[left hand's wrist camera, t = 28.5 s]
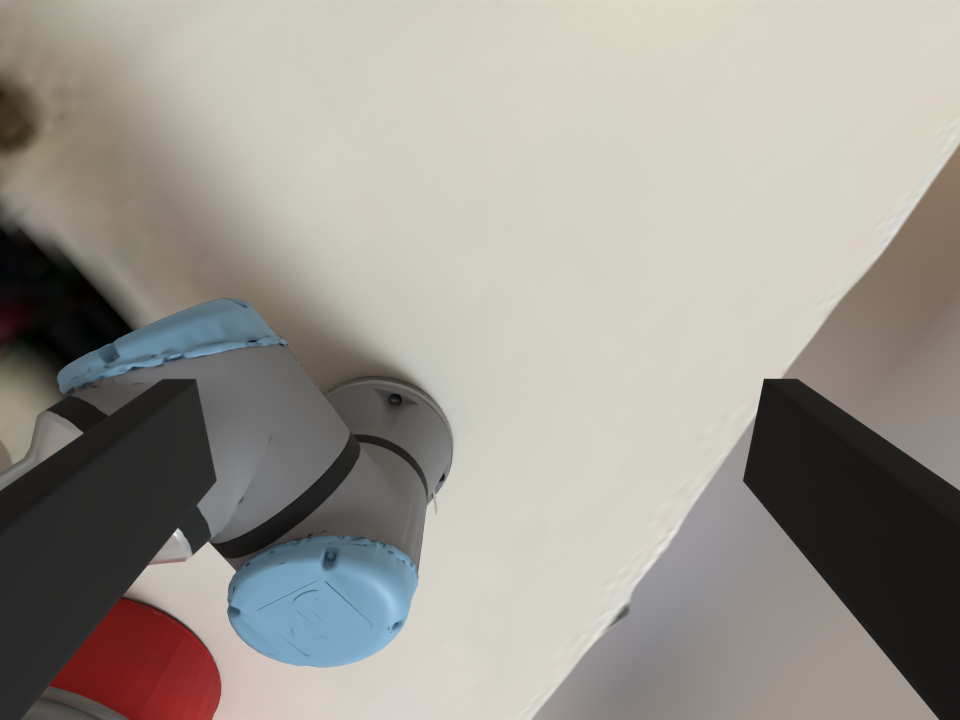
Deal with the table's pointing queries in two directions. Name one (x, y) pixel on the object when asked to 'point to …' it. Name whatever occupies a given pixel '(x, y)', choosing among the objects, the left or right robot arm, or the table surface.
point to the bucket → (134, 672)
